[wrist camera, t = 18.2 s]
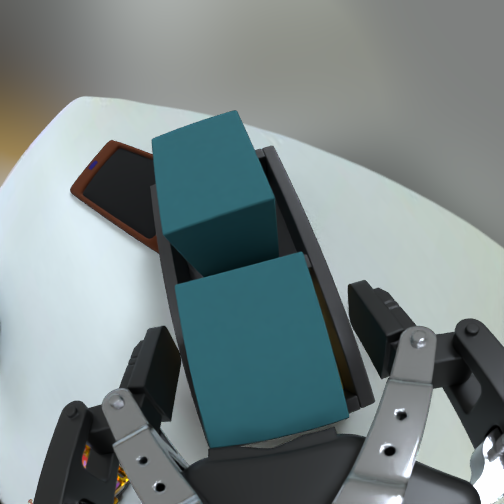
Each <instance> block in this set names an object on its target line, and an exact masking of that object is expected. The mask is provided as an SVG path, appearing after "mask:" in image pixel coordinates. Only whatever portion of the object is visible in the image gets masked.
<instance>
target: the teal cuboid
mask: <svg viewBox="0 0 504 504" xmlns="http://www.w3.org/2000/svg"><path fill="white" fill-rule="evenodd" d="M152 151H153V162H154V172H155V181H156V190H157V198H158V205H159V212H160V219H161V226H162V233H163V236H164V237H165V238H166V239H167V240H168V241H169V242H170V243H171V244H172V245H173V246H174V247H175V248H176V249H177V251H178V252H179V253H180V254H181V255H182V256H183V257H184V258H185V259H186V260H187V261H188V262H189V263H190V264H191V265H192V266H193V267H194V268H195V269H196V270H197V271H198V272H199V273H200V274H201V275H202V276H203V277H208V276H212V275H216V274H219V273H223V272H227V271H231V270H235V269H238V268H242V267H246V266H250V265H253V264H257V263H261V262H265V261H268V260H272V259H276V258H279V246H278V232H277V219H276V206H275V197H274V194H273V192H272V189H271V187H270V185H269V182H268V180H267V178H266V175H265V173H264V170H263V168H262V166H261V164H260V161H259V159H258V157H257V154H256V152H255V150H254V147H253V145H252V143H251V141H250V138H249V136H248V134H247V132H246V130H245V127H244V125H243V123H242V121H241V119H240V117H239V114H238V112H237V111H236V110H234V111H230V112H227V113H224V114H220V115H217V116H214V117H211V118H208V119H205V120H202V121H199V122H196V123H193V124H190V125H187V126H184V127H181V128H179V129H176V130H173V131H171V132H168V133H166V134H163V135H160V136H158V137H155V138H153V139H152Z"/></svg>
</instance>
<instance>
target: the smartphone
mask: <svg viewBox="0 0 504 504" xmlns="http://www.w3.org/2000/svg"><path fill="white" fill-rule="evenodd" d="M154 184H156V181H155V172H154V162H153V154H150V153H148V152H145V151H142V150H140V149H137V148H134V147H131V146H129V145H126V144H123V143H120V142H117V141H113V140H110V141H109V142H108V143H107V144H106V145H105V146H104V147H103V148H102V149H101V150H100V152H99V153H98V154H97V155H96V156H95V157H94V159H93V160H92V161H91V162H90V163H89V165H88V166H87V167H86V168H85V170H84V171H83V172H82V173H81V175H80V176H79V177H78V178H77V180H76V181H75V182H74V184H73V185H72V187H71V189H70V192H71V193H72V194H73V195H74V196H76V197H77V198H78V199H80V200H81V201H83V202H84V203H85V204H87V205H88V206H89V207H91V208H92V209H94V210H95V211H96V212H98V213H99V214H101V215H102V216H104V217H105V218H106V219H108V220H109V221H111V222H112V223H114V224H115V225H117V226H118V227H119V228H121V229H122V230H124V231H125V232H127V233H128V234H130V235H131V236H133V237H134V238H136V239H137V240H139V241H140V242H142V243H143V244H145V245H146V246H148V247H149V248H151V249H152V250H154V251H156V252H157V253H159V249H158V243H157V236H156V229H155V222H154V214H153V206H152V197H151V188H150V186H152V185H154Z"/></svg>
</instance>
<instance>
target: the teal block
mask: <svg viewBox="0 0 504 504" xmlns="http://www.w3.org/2000/svg"><path fill="white" fill-rule="evenodd" d="M175 293H176V300H177V306H178V312H179V317H180V323H181V328H182V334H183V339H184V344H185V349H186V354H187V359H188V364H189V368H190V373H191V377H192V382H193V386H194V390H195V394H196V398H197V402H198V406H199V410H200V414H201V418H202V421H203V425H204V429H205V432H206V436H207V439H208V443H209V446H210V448H219V447H228V446H235V445H242V444H248V443H254V442H260V441H265V440H270V439H275V438H280V437H284V436H288V435H293V434H297V433H301V432H304V431H308V430H312V429H315V428H319V427H322V426H326V425H329V424H332V423H335V422H338V421H341V420H344V419H347V418H349V412H348V408H347V404H346V400H345V396H344V392H343V388H342V384H341V380H340V376H339V372H338V369H337V365H336V361H335V357H334V354H333V350H332V346H331V343H330V339H329V336H328V332H327V329H326V325H325V322H324V318H323V315H322V312H321V308H320V305H319V302H318V298H317V295H316V292H315V289H314V285H313V282H312V279H311V276H310V273H309V269H308V266H307V263H306V260H305V257H304V254H303V252H298V253H294V254H291V255H287V256H283V257H279V258H276V259H272V260H268V261H265V262H261V263H257V264H253V265H250V266H246V267H242V268H238V269H235V270H231V271H227V272H223V273H219V274H216V275H212V276H208V277H204V278H200V279H196V280H192V281H189V282H185V283H181V284H177V285H175Z"/></svg>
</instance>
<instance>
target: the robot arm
mask: <svg viewBox="0 0 504 504" xmlns="http://www.w3.org/2000/svg"><path fill="white" fill-rule="evenodd" d="M348 305H349V318H350V322H351V325H352V327H353V329H354V330H355V332H356V334H357V336H358V337H359V339H360V341H361V343H362V345H363V346H364V348H365V350H366V352H367V354H368V355H369V357H370V359H371V361H372V363H373V365H374V367H375V368H376V370H377V372H378V374H379V376H380V378H381V379H383V378H386V377H389V376H390V377H389V378H388V380H387V382H386V385H385V388H384V392H383V395H382V397H381V400H380V403H379V406H378V409H377V412H376V414H375V417H374V420H373V422H372V425H371V427H370V430H369V432H368V435H367V437H364V436H359V435H353V434H337V433H336V430H335V427H332V428H329V429H325V430H321V431H318V432H314V433H310V434H305V435H302V436H300V437H298V438H296V439H293V440H291V441H289V442H287V443H284V444H282V445H279V446H277V447H274V448H269V449H267V448H251V447H240V446H237V447H228V448H216V449H208V457H207V458H204V459H202V460H199V461H197V462H195V463H193V464H192V465H189V464H188V463H187V462H186V461H185V460H184V459H183V457H182V456H181V455H180V454H179V452H178V451H177V450H176V448H175V447H174V446H173V444H172V443H171V442H170V440H169V439H168V437H167V436H166V435H165V433H164V432H163V430H162V429H161V428H160V426H161V422H170V421H171V419H172V412H173V406H174V400H175V394H176V389H177V383H178V377H179V372H180V366H181V357H180V353H179V350H178V348H177V347H176V345H175V343H174V341H173V339H172V337H171V335H170V333H169V331H168V329H167V327H165V326H160V327H154V328H149V329H148V330H147V333H146V335H145V338H144V340H142V341H140V342H139V343H138V344H137V346H136V347H135V348H134V350H133V352H132V355H131V359H130V360H129V363H128V366H127V368H126V371H125V373H124V376H123V379H122V381H121V384H120V387H119V389H115V390H113V391H111V392H110V393H108V394H107V395H106V396H105V398H104V399H103V402H102V404H101V405H98V406H94V407H91V408H88V407H87V406H86V405H85V404H84V403H83V402H81V401H73V402H71V403H69V404H68V405H66V406H65V407H64V409H63V410H62V412H61V415H60V417H59V420H58V423H57V425H56V428H55V431H54V434H53V437H52V439H51V442H50V445H49V448H48V451H47V454H46V458H45V461H44V464H43V468H42V471H41V475H40V478H39V482H38V486H37V490H36V494H35V498H34V502H33V504H114V497H115V490H116V482H117V476H118V469H119V463H120V464H121V466H122V468H123V470H124V472H125V474H126V475H127V477H128V479H129V481H130V483H131V485H132V486H133V488H134V490H135V492H136V493H137V495H138V497H139V498H140V500H141V502H142V503H143V504H493V503H495V502H496V501H498V500H499V499H500V498H502V497H503V496H504V347H503V346H502V344H501V343H500V342H499V341H498V340H497V339H496V337H495V336H494V335H493V334H492V333H491V332H490V331H489V329H488V328H487V327H486V326H485V325H484V324H483V323H482V322H480V321H478V320H476V319H464V320H461V321H460V322H459V323H458V324H457V325H456V328H455V332H450V333H444V334H435V333H434V332H433V331H432V330H430V329H429V328H427V327H423V326H416V325H415V323H414V322H413V321H412V320H411V319H410V317H409V316H408V315H407V314H406V313H405V311H404V310H403V309H402V308H401V307H399V304H398V303H397V302H396V301H394V299H393V298H392V296H391V295H390V294H389V293H388V292H386V291H384V290H382V289H380V288H376V289H373V288H372V287H371V286H370V285H369V284H368V282H367V281H366V280H362V281H359V282H355V283H352V284H349V285H348ZM440 387H442V388H443V389H444V391H445V393H446V395H447V396H448V398H449V400H450V402H451V404H452V405H453V407H454V409H455V411H456V413H457V415H458V417H459V418H460V420H461V422H462V424H463V426H464V428H465V430H466V432H467V434H468V436H469V438H470V440H471V442H472V445H473V447H474V449H475V450H474V452H473V453H472V456H471V459H470V468H471V480H470V482H468V481H466V480H463V479H460V478H458V477H455V476H452V475H450V474H447V473H444V472H442V471H439V470H437V469H434V468H432V467H429V466H427V465H425V464H422V463H420V462H418V461H416V457H417V454H418V451H419V447H420V444H421V440H422V437H423V433H424V429H425V425H426V421H427V416H428V412H429V407H430V402H431V397H432V391H433V389H434V388H440ZM86 445H88V446H89V447H90V452H89V456H88V460H87V464H86V469H85V468H84V466H83V463H82V457H83V453H84V449H85V446H86Z"/></svg>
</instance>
